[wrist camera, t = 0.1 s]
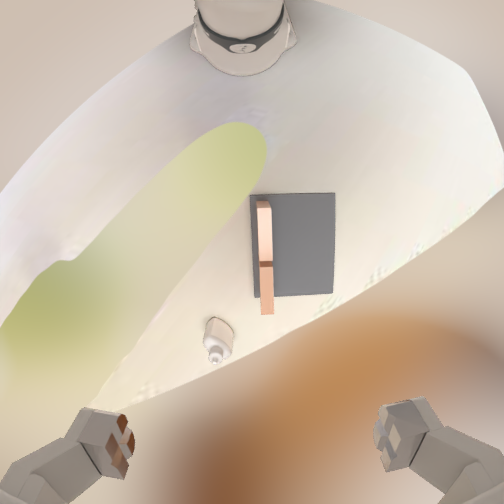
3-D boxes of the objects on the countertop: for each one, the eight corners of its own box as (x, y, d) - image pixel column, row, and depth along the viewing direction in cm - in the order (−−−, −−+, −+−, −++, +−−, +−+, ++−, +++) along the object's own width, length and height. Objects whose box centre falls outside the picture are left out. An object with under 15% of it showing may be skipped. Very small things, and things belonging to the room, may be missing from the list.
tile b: (258, 251, 56) (259, 267, 48) (269, 250, 56) (273, 266, 48) (259, 292, 59) (261, 314, 50) (270, 292, 58) (274, 314, 50)
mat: (250, 195, 54) (249, 195, 54) (334, 193, 54) (335, 193, 53) (254, 297, 59) (254, 297, 59) (332, 292, 59) (332, 293, 59)
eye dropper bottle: (226, 313, 60) (221, 346, 48) (235, 336, 62) (232, 372, 50) (205, 318, 60) (196, 352, 49) (215, 341, 62) (208, 378, 50)
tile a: (256, 200, 54) (257, 208, 45) (268, 200, 54) (271, 207, 45) (257, 245, 56) (259, 261, 47) (269, 245, 56) (273, 260, 47)
